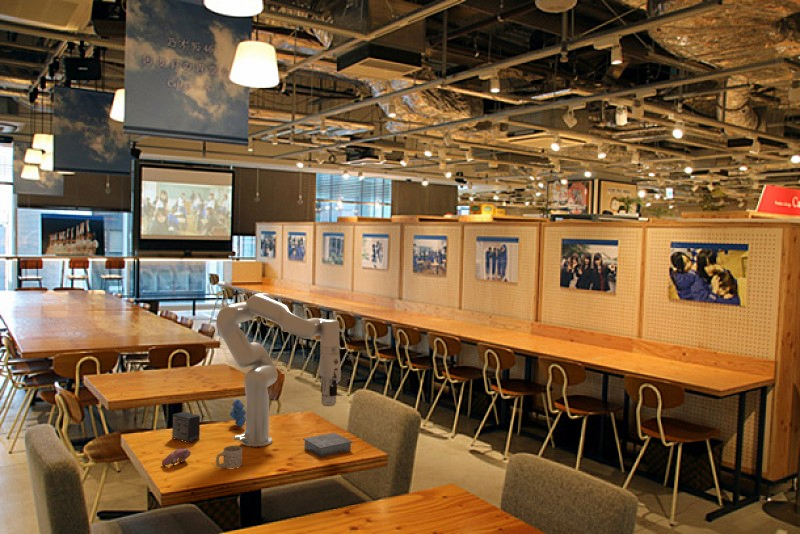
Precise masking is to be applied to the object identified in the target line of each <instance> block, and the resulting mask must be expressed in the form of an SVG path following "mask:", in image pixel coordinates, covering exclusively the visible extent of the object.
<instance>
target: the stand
mask: <svg viewBox="0 0 800 534" xmlns="http://www.w3.org/2000/svg"><path fill="white" fill-rule="evenodd" d="M302 440H303V441H304V450H306V451H309V452H310V453H312V454H314V455H315V456H318V457H319V458H325V457H329V456H334V455H338V454H337V453H339V454H342V453H341V452H344V453H347V452H346V451H348V452H351V451H350V450H351V448H352V446H351V445H352V443H353V441H352V440H350V439H349V438H346V437H344V436H342V435H341V434H339V433H336V432H331V433H326V434H321V435H315V436H310V437H304V438H303V439H302ZM333 454H334V455H333Z"/></svg>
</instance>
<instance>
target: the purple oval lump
mask: <svg viewBox="0 0 800 534" xmlns="http://www.w3.org/2000/svg"><path fill="white" fill-rule="evenodd" d="M190 455H191V451H190V450H189V449H187V448H186V447H185V448H178V449H176V450H174V451H173V452H170V453H169V454H168V455H167V456H166V457H165V458H163V460H162V461H161V465H167V466H169V465H172V464H175V463H177V464H178V463H179V462H181V461H184V462H185V461H186V459H188V458H189V457H190Z"/></svg>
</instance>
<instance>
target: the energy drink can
mask: <svg viewBox="0 0 800 534" xmlns="http://www.w3.org/2000/svg"><path fill="white" fill-rule="evenodd" d="M332 378H335V377H332ZM332 381H333V382H334V381H335V380H332ZM330 386H331V385H330V379H328V378H327V373H326V372H325V371H323V372H322V393H321V398H320V399H321V404H322V406H324V407H333V406H336V405H335V404H336V403H337V396H330Z"/></svg>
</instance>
